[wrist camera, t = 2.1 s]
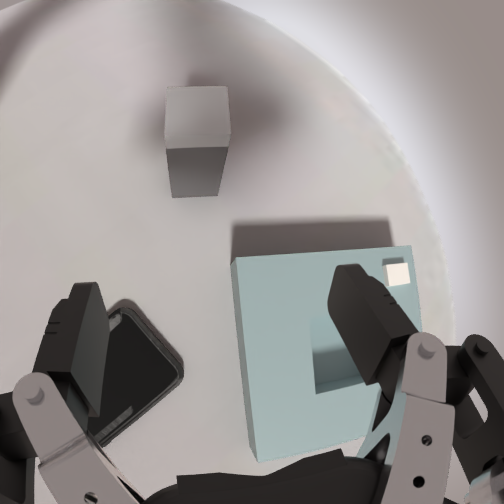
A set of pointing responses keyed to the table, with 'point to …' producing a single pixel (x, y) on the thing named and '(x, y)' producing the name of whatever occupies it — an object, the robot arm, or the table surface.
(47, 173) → the table surface
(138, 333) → the phone
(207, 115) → the plug
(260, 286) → the socket
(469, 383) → the robot arm
